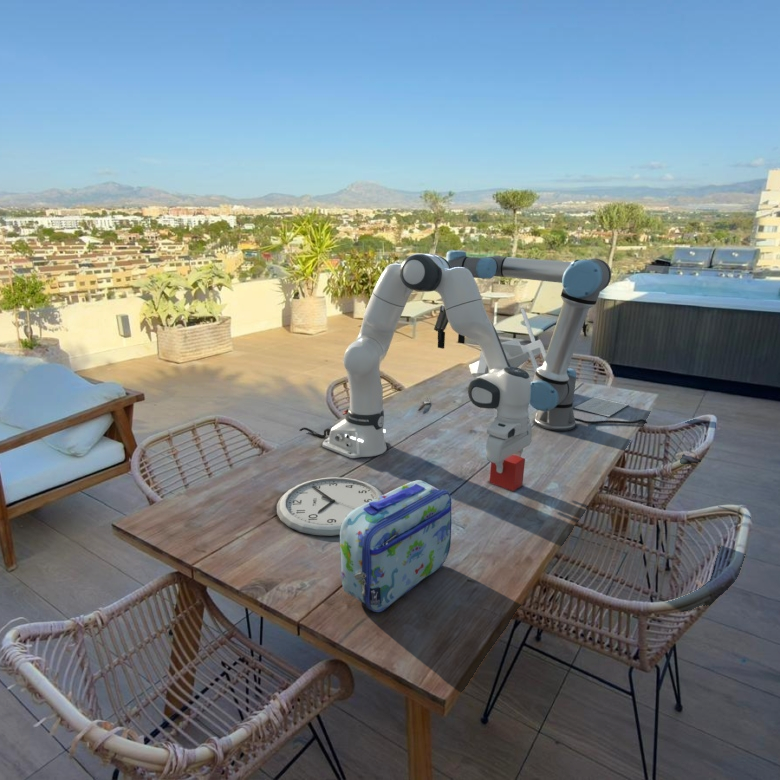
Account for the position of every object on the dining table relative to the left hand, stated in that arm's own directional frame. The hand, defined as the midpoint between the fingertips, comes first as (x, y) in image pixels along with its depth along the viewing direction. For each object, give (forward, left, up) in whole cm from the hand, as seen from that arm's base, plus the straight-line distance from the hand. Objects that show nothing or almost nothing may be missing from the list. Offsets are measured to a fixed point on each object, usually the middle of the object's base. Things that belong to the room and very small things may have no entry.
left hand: (508, 467), depth 155 cm
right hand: (-41, +50, +22) cm, 69 cm away
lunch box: (-6, -57, -6) cm, 57 cm away
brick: (0, 0, -6) cm, 6 cm away
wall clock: (-37, -37, -6) cm, 53 cm away
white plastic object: (-31, +100, -6) cm, 105 cm away
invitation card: (+13, +91, -6) cm, 92 cm away
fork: (-52, +51, -6) cm, 73 cm away
